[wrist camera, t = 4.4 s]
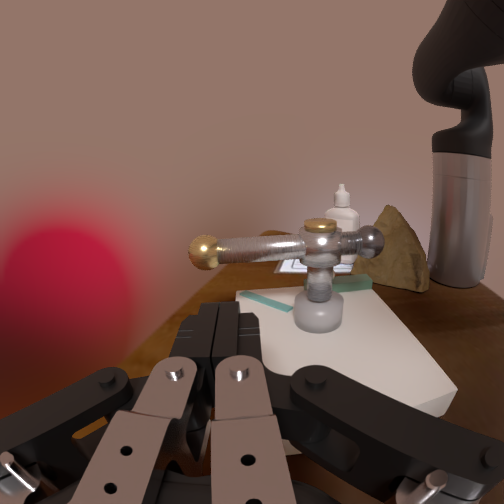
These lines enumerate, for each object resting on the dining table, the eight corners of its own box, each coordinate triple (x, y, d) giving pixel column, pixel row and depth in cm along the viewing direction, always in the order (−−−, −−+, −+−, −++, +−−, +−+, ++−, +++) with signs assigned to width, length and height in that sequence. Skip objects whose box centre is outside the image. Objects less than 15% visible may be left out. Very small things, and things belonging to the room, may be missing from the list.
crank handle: (371, 281, 23) (375, 215, 21) (386, 297, 20) (393, 223, 18) (199, 295, 23) (189, 225, 21) (192, 314, 20) (180, 235, 18)
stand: (361, 300, 30) (365, 259, 28) (444, 414, 13) (471, 360, 11) (238, 311, 30) (234, 269, 28) (232, 458, 13) (221, 409, 11)
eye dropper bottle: (338, 267, 40) (339, 185, 37) (321, 256, 45) (320, 183, 42) (361, 263, 41) (363, 185, 37) (343, 253, 46) (344, 182, 43)
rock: (451, 273, 29) (411, 242, 38) (435, 224, 25) (390, 199, 34) (389, 327, 31) (358, 286, 40) (363, 287, 27) (331, 248, 36)
